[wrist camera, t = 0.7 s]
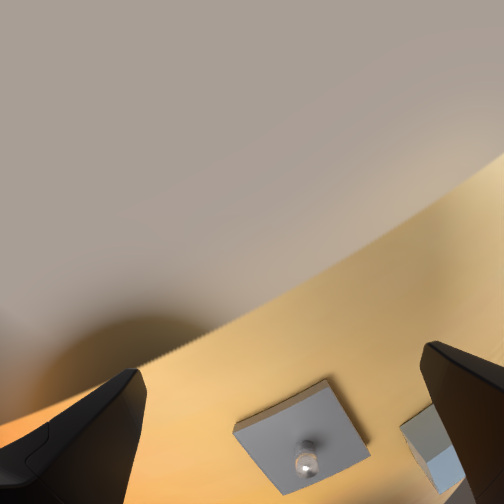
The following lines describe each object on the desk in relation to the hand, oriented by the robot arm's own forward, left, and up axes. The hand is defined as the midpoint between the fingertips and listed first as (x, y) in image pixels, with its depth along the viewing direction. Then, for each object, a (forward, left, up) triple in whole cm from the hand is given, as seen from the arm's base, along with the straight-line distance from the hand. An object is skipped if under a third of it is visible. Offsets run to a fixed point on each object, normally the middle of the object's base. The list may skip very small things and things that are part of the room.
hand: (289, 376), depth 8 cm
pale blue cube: (-17, +5, -13) cm, 22 cm away
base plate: (-6, +9, -13) cm, 17 cm away
